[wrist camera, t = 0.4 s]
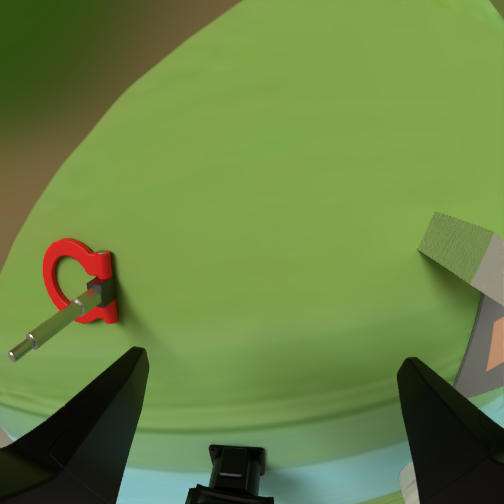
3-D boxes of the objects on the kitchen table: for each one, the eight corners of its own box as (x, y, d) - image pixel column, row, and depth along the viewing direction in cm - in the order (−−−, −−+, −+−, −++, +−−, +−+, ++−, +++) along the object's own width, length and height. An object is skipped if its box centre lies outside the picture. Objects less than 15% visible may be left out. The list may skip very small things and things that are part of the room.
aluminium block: (458, 273, 21) (510, 310, 14) (417, 249, 21) (469, 284, 14) (475, 239, 20) (532, 266, 13) (434, 211, 20) (494, 232, 13)
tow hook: (57, 310, 27) (123, 326, 26) (-24, 368, 14) (41, 411, 13) (44, 235, 24) (113, 240, 23) (-55, 274, 12) (-2, 296, 11)
